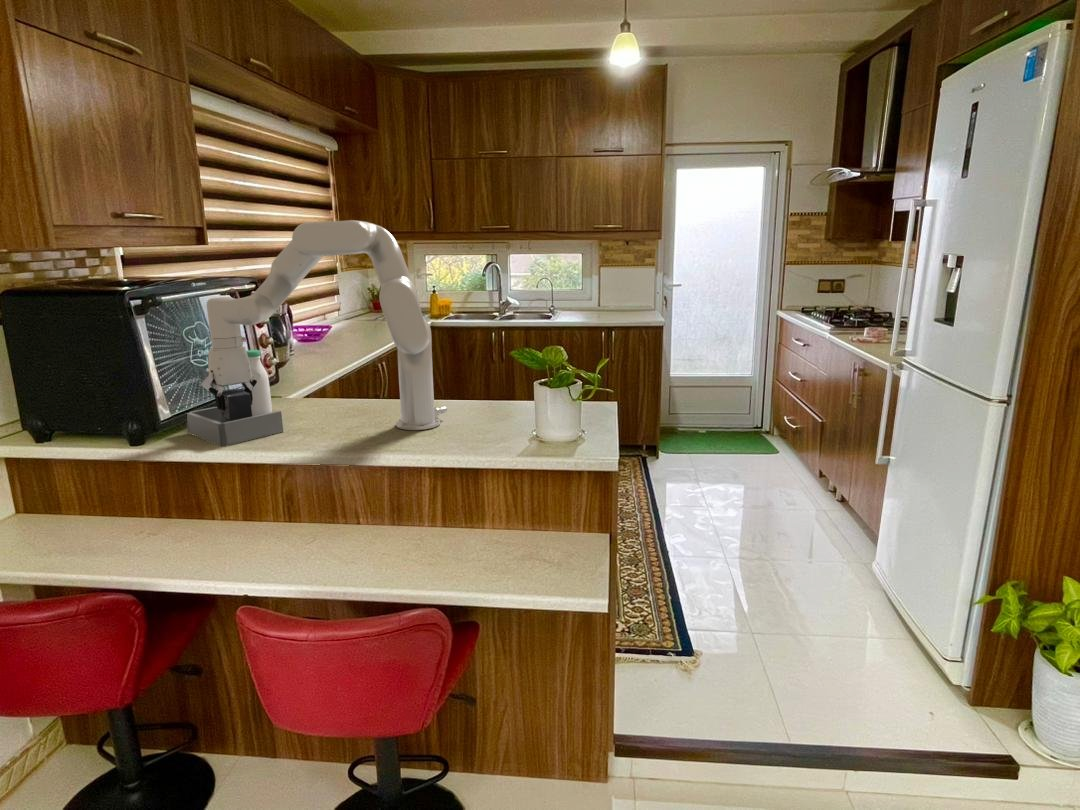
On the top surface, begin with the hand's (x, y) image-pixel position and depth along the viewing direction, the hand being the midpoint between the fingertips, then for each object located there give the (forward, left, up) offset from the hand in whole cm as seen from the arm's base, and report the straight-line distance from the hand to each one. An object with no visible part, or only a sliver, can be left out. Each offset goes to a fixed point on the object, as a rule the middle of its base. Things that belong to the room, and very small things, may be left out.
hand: (235, 406), depth 186 cm
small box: (0, 0, -7) cm, 7 cm away
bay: (0, 0, -8) cm, 8 cm away
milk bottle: (-14, -14, -8) cm, 21 cm away
